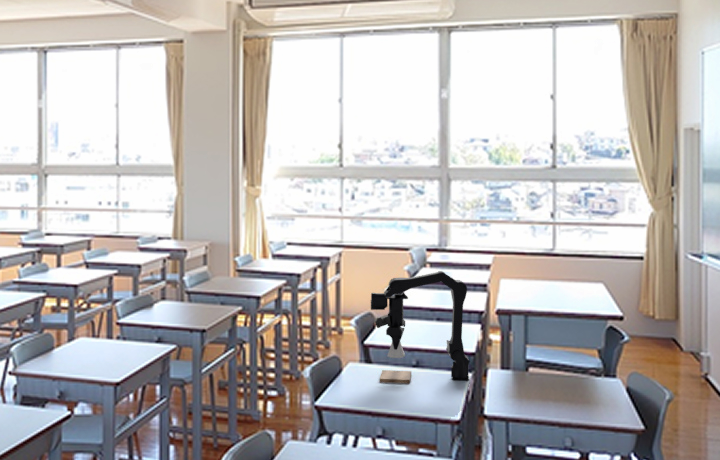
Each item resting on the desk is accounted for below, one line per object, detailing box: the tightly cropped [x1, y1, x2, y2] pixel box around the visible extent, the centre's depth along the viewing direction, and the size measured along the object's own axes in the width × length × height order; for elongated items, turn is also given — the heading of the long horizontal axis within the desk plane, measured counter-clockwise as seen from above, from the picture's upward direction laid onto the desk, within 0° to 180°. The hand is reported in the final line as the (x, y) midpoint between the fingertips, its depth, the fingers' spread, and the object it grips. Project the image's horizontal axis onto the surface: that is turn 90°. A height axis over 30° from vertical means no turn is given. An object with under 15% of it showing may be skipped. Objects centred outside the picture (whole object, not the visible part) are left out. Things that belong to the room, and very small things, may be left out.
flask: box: [386, 341, 406, 359], centre depth 262 cm, size 7×7×10 cm
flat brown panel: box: [379, 369, 412, 384], centre depth 263 cm, size 12×12×2 cm
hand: (396, 347), depth 262 cm, fingers closed on flask, 5 cm apart
